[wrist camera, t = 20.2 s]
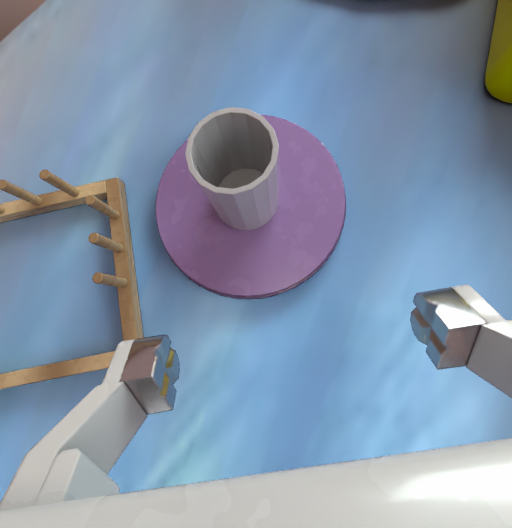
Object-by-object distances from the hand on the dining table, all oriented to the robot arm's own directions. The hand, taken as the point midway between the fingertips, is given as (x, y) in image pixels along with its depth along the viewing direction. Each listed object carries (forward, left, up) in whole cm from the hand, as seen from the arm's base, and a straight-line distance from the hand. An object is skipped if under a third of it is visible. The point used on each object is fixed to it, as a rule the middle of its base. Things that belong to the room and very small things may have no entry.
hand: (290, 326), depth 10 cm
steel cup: (+4, +10, -14) cm, 17 cm away
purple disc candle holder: (+4, +10, -15) cm, 18 cm away
